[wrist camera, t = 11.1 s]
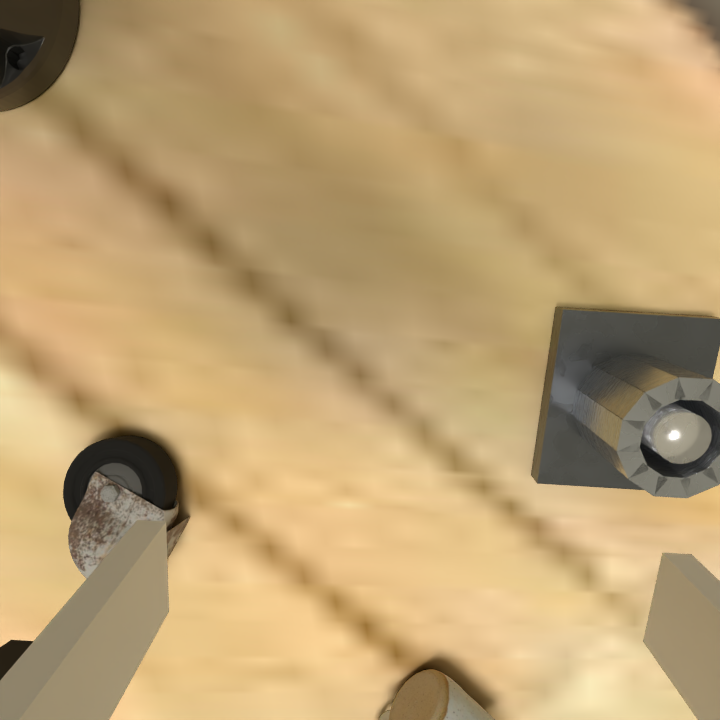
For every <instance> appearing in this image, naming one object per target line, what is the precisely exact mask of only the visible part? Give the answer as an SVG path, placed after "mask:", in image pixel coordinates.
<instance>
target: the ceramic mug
mask: <svg viewBox="0 0 720 720" xmlns="http://www.w3.org/2000/svg"><path fill="white" fill-rule="evenodd" d="M379 720H495V719H494V718H493V717H492V716H491V715H489V714H488V713H487V712H486V711H485V710H484V709H483V708H482V707H481V706H480V705H479V704H478V703H477V702H476V701H475V700H474V699H472V698H471V697H470V696H469V695H468V694H467V693H466V692H465V691H464V690H463V689H462V688H461V687H460V686H459V685H458V684H457V683H456V682H455V681H454V680H452V679H451V678H450V677H448V676H447V675H445V674H443V673H442V672H440V671H437V670H434V669H429V670H423V671H421V672H419V673H416V674H415V675H413V676H412V677H411V678H410V679H409V680H408V681H406V682H405V683H404V685H403V686H402V687H401V689H400V690H399V692H398V693H397V695H396V697H395V699H394V701H393V704H392V707H391V710H387V711H386V712H384V713H383V714H382V715H381V716H380V718H379Z"/></svg>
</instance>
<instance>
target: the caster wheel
mask: <svg viewBox="0 0 720 720" xmlns="http://www.w3.org/2000/svg"><path fill="white" fill-rule="evenodd" d="M176 495H177V476H176V472H175V469H174V466H173V464H172V462H171V460H170V458H169V457H168V455H167V454H166V453H165V452H164V451H163V450H162V449H161V448H160V447H159V446H158V445H157V444H155V443H153V442H152V441H150V440H147V439H145V438H143V437H137V436H121V437H116V438H111V439H106V440H102V441H99V442H96V443H94V444H92V445H90V446H88V447H87V448H85V449H84V450H83V451H81V452H80V453H79V454H78V455H77V457H76V458H75V459H74V461H73V462H72V463H71V465H70V467H69V469H68V471H67V474H66V477H65V481H64V489H63V498H64V504H65V508H66V510H67V513H68V516H69V517H70V519H71V521H72V522H71V525H70V528H69V535H68V539H69V548H70V553H71V556H72V559H73V561H74V563H75V564H76V566H77V568H78V569H79V571H80V572H81V573H82V574H83V575H84V577H85V578H86V579H87V578H88V577H89V576H90V575H91V574H92V572H93V571H94V570H95V569H96V568H97V566H98V565H99V564H100V563H101V562H102V561H103V559H104V558H105V557H106V556H107V555H108V554H109V552H110V551H111V550H112V549H113V548H114V547H115V545H116V544H117V543H118V542H119V541H120V540H121V538H122V537H123V536H124V535H125V534H126V533H127V531H128V530H129V529H130V528H131V527H132V525H133V524H134V523H135V522H136V521H137V520H148V521H164V522H166V533H167V559H168V557H169V555H170V553H171V552H172V550H173V548H174V546H175V544H176V543H177V541H178V539H179V537H180V535H181V533H182V532H183V530H184V528H185V526H186V524H187V523H188V521H189V519H190V516H189V517H188V518H187V519H185V520H184V521H182V522H181V523H179V524H178V525H177V526H175V527H174V528H172V529H171V527H172V525H173V523H174V521H175V519H176V517H177V514H178V506H179V502H178V501H176V500H175V499H176Z"/></svg>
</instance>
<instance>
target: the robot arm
mask: <svg viewBox="0 0 720 720" xmlns="http://www.w3.org/2000/svg"><path fill="white" fill-rule="evenodd" d="M78 18H79V0H0V111H5V110H9V109H13V108H16V107H19V106H21V105H23V104H25V103H27V102H29V101H31V100H33V99H34V98H36V97H37V96H39V95H40V94H41V93H42V92H44V91H45V90H46V89H47V88H48V87H49V86H50V85H51V84H52V83H53V82H54V80H55V79H56V78H57V77H58V75H59V74H60V72H61V71H62V69H63V68H64V66H65V64H66V62H67V60H68V58H69V55H70V53H71V50H72V47H73V44H74V41H75V37H76V32H77V27H78ZM168 612H169V597H168V565H167V533H166V522H164V521H148V520H137V521H136V522H135V523H134V524H133V525H132V527H131V528H130V529H129V530H128V531H127V533H126V534H125V535H124V536H123V537H122V538H121V540H120V541H119V542H118V543H117V544H116V545H115V547H114V548H113V549H112V550H111V551H110V552H109V554H108V555H107V556H106V557H105V558H104V559H103V561H102V562H101V563H100V564H99V565H98V566H97V568H96V569H95V570H94V571H93V572H92V574H91V575H90V576H89V577H88V578H87V579H86V581H85V582H84V583H83V584H82V585H81V586H80V588H79V589H78V590H77V591H76V592H75V593H74V595H73V596H72V597H71V598H70V599H69V600H68V602H67V603H66V604H65V605H64V606H63V607H62V609H61V610H60V611H59V612H58V613H57V615H56V616H55V617H54V618H53V619H52V620H51V622H50V623H49V624H48V625H47V626H46V627H45V629H44V630H43V631H42V632H41V633H40V634H39V636H38V637H37V638H36V639H35V640H34V641H21V640H10V641H9V642H7V643H6V644H5V645H3V646H2V647H0V720H109V719H110V717H111V716H112V714H113V712H114V710H115V708H116V707H117V705H118V703H119V701H120V699H121V697H122V696H123V694H124V692H125V690H126V688H127V687H128V685H129V683H130V681H131V679H132V677H133V676H134V674H135V672H136V670H137V668H138V667H139V665H140V663H141V661H142V659H143V658H144V656H145V654H146V652H147V650H148V648H149V647H150V645H151V643H152V641H153V639H154V638H155V636H156V634H157V632H158V630H159V629H160V627H161V625H162V623H163V621H164V619H165V618H166V616H167V614H168ZM643 642H644V643H645V645H646V646H647V648H648V649H649V651H650V652H651V653H652V655H653V656H654V658H655V659H656V661H657V662H658V663H659V665H660V666H661V668H662V669H663V671H664V672H665V673H666V675H667V676H668V678H669V679H670V681H671V682H672V683H673V685H674V686H675V688H676V689H677V691H678V692H679V693H680V695H681V696H682V698H683V699H684V701H685V702H686V704H687V705H688V706H689V708H690V709H691V711H692V712H693V714H694V715H695V716H696V718H697V719H698V720H720V581H719V580H718V579H717V578H716V577H715V576H714V575H713V574H712V573H711V572H710V571H708V570H707V569H706V568H705V567H704V566H703V565H702V564H701V563H700V562H699V561H698V560H697V559H696V558H695V557H694V556H693V555H692V554H677V553H662V557H661V561H660V566H659V571H658V575H657V580H656V584H655V589H654V594H653V598H652V603H651V607H650V612H649V617H648V621H647V626H646V630H645V635H644V640H643Z"/></svg>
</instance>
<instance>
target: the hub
mask: <svg viewBox="0 0 720 720" xmlns="http://www.w3.org/2000/svg"><path fill="white" fill-rule="evenodd" d="M671 403H675V404H677V405H679V406H681V407H683V408H685V409H687V410H689V411H691V412H693V413H695V414H697V415H699V416H701V417H702V418H704V419H705V420H706V421H707V423H708V424H709V426H710V428H711V434H712V436H711V442H710V445H709V447H708V449H707V450H706V452H705V453H704V454H703V455H702V456H701V457H699V458H698V459H696V460H694V461H692V462H689V463H684V464H677V463H671V462H669V461H668V460H666V459H664V458H663V457H662V456H660V455H659V454H657V453H656V452H655V451H653V450H652V449H650V448H649V447H648V446H646V445H645V444H643V443H642V442H641V438H642V433H643V428H644V426H645V424H646V423H647V422H648V421H649V420H650V418H651V417H652V416H653V415H654V414H655V413H656V411H657V410H658V409H659V408H662V407H664V406H666V405H669V404H671ZM573 417H574V420H575V422H576V424H577V427H578V429H579V431H580V434H581V436H582V438H583V439H584V440H585V441H586V442H587V443H588V444H589V445H590V446H592V447H593V448H594V449H595V450H596V451H597V452H598V453H599V454H601V455H602V456H603V457H604V458H605V459H606V460H607V461H608V462H610V463H611V464H612V465H613V466H614V467H615V468H616V469H617V470H619V471H620V472H621V473H622V474H623V475H624V476H625V477H626V478H628V479H629V480H630V481H632V482H633V483H635V484H636V485H638V486H639V487H641V488H642V489H644V490H645V491H647V492H648V493H650V494H651V495H653V496H660V497H676V498H689V497H691V496H693V495H696V494H698V493H701V492H703V491H705V490H708V489H710V488H713V487H715V486H717V485H719V484H720V384H719V383H718V382H716V381H715V380H713V379H711V378H708V377H706V376H703V375H700V374H698V373H695V372H692V371H690V370H687V369H685V368H682V367H679V366H677V365H674V364H671V363H669V362H666V361H664V360H661V359H658V358H656V357H653V356H650V355H636V354H620V355H618V356H616V357H613V358H611V359H609V360H607V361H605V362H602V363H600V364H598V365H596V366H594V368H593V369H592V370H591V371H590V373H589V374H588V375H587V376H586V378H585V379H584V380H583V381H582V383H581V384H580V385H579V387H578V388H577V391H576V397H575V403H574V409H573Z"/></svg>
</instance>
